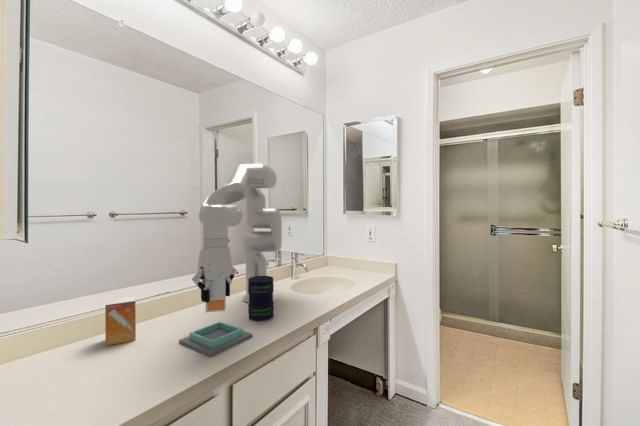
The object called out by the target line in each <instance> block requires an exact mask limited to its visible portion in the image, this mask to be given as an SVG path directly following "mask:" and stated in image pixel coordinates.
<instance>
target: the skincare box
mask: <svg viewBox="0 0 640 426" xmlns="http://www.w3.org/2000/svg"><path fill="white" fill-rule="evenodd" d="M208 289H209V294H210V301H209V302H208V303H206V302H205V313H212V312H214V313H215V312H225V311H226V308H227V307H226V302H227V301H226V297H227V296H226V273H222V274H219V276H218V279H216V280H212V281H211V282H210V284H209V287H208Z"/></svg>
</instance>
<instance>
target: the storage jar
mask: <svg viewBox="0 0 640 426" xmlns="http://www.w3.org/2000/svg"><path fill="white" fill-rule="evenodd" d="M248 282H249V283H248V294H249V302H247V303H248V304H247V312H248V319H249V320H250V321H253V322H265V321H268V320H271V319H272V318H273V317H275V316H274V313H275V311H274V310H275V307H274V306H275V302H274V288H275V285H274V277H273V276H270V275H267V276H255V277H251V278H249V279H248Z"/></svg>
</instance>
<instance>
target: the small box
mask: <svg viewBox="0 0 640 426" xmlns="http://www.w3.org/2000/svg"><path fill="white" fill-rule="evenodd" d="M104 307H105V311H104V312H105V315H104V316H105V320H104V321H105V323H104V324H105V328H104V329H105V332H104V333H105V347H108V346H112V345H118V344H123V343H128V342H133V341H136V339H137V338H136V336H137V334H136V333H137V332H136V330H137V329H136V327H137V324H136V322H137V320H136V318H137V317H136V314H137V313H136V311H137V310H136V296H135V295H133V296H127V297H117V298H113V299H106V300H105V306H104Z"/></svg>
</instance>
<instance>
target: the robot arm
mask: <svg viewBox="0 0 640 426" xmlns="http://www.w3.org/2000/svg"><path fill="white" fill-rule="evenodd" d="M277 180H278V179H277V174H276V172H275V170H274V169H273V168H271V167H270V166H268V165H266V164H265V163H264V164H263V163H241V164H239V165H237V166H236V167H235V169H234V170H233V172H232V173H231V176H230V177H229V179H228V181H227V183H226V184H225V185H222V186H221V187H220V188H219V187H218V188H217V189H216V190H214V191H212V192H210V194H208V196H206V198H205V199H204V201H203V203H202V205H201V207H200V210H199V212H198V220H199V222H200V223H201V224H202V247H201V248H200V251H199V254H198V262H197V272H196V273H195V274H194V275H193V277H191V281H192V282H193V283H194V284H195V286H197V287H198V289H200V299H201V302H203V303H205V304H206V303H208V302H209V301H210V294H209V289H208V287H209V284H210V282H211V281H212V280H216V279H218V276H219V274H222V273H226V297H230V296H231V294H230V293H231V284H232V282H233V279H234V277H235V275H236V273H237V272H238V270H237V269H236V268H235V267H234V266H233V265H232V254H231V250H230V246H228V245H229V243H230V242H231V240H230V238H229V236H228V235H229V233H228V229H229V228H228V227H237V226H239V225H240V224H241V223H242V220H243V219H244V218H243V216H244V214H243V211H242V209H241V208H240V206H238V205H236V204H234V203H237V202H239V201H242V200H244V199H245V198H246V223H247V226H248V227H249V228H252V229H270V230H269V231H267V230H266V231H263V230H258V231H257V230H256V231H255V230H254V231H253V230H252V231H248V232H247V233H245V234H244V236H243V239H242V241H243V242H242V243H243V246H244V247H243V249H244V254H245V255H244V256H245V294H244V295H243V296H242V301H243V302H245V303H249V294H248V283H249V282H248V279H249V278H251V277H255V276H268V275H267V274H268V273H267V267H268V266H267V264H268V263H267V259H266V257H265V256H264V254H263V253H277V252H279V251H280V250H281V248H282V244H283V243H282V241H283V239H282V234H283V233H282V230H283V229H282V227H283V226H282V224H283V223H282V222H283V221H282V213H281V211H280V209H278V208H276V207H266V197H265V196H266V195H265V194H264V193H263V191H262V190H261V189H272V188H275V186H277V185H276V184H277Z"/></svg>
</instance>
